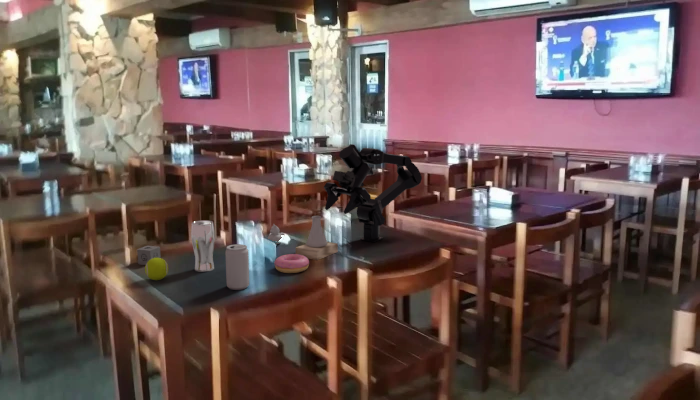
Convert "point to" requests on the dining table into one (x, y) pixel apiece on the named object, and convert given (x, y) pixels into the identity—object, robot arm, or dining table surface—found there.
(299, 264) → the doughnut
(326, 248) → the foundation block
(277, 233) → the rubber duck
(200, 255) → the beer glass
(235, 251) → the beverage can
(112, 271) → the dining table surface
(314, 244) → the flask
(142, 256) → the dice cube
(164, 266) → the tennis ball
